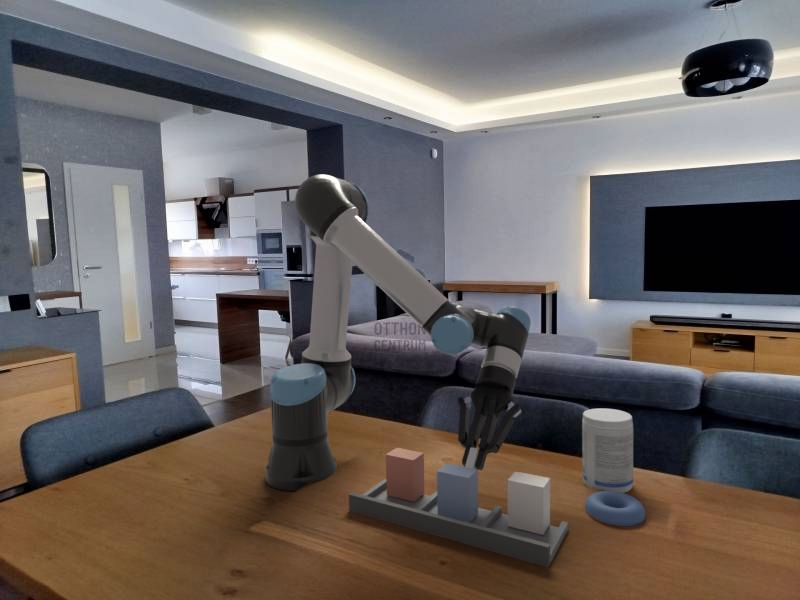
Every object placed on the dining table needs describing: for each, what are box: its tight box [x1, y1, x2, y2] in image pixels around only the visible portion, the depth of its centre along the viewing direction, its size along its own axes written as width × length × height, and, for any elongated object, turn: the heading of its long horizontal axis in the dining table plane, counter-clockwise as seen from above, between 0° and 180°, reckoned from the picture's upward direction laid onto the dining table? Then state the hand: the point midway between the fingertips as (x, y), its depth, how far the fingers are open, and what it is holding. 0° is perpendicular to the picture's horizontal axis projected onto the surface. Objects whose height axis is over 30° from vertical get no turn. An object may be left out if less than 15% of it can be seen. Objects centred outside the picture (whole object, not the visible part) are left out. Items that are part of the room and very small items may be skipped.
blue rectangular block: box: [436, 462, 479, 523], centre depth 94 cm, size 6×4×8 cm, turn 59°
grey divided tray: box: [348, 478, 569, 568], centre depth 93 cm, size 36×12×4 cm, turn 59°
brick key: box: [385, 447, 425, 502], centre depth 102 cm, size 6×4×8 cm, turn 59°
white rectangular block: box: [507, 470, 551, 535], centre depth 90 cm, size 6×4×8 cm, turn 59°
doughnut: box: [584, 490, 646, 527], centre depth 94 cm, size 10×10×5 cm
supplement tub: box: [581, 407, 634, 494], centre depth 108 cm, size 10×10×15 cm
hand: (466, 484), depth 97 cm, fingers closed
